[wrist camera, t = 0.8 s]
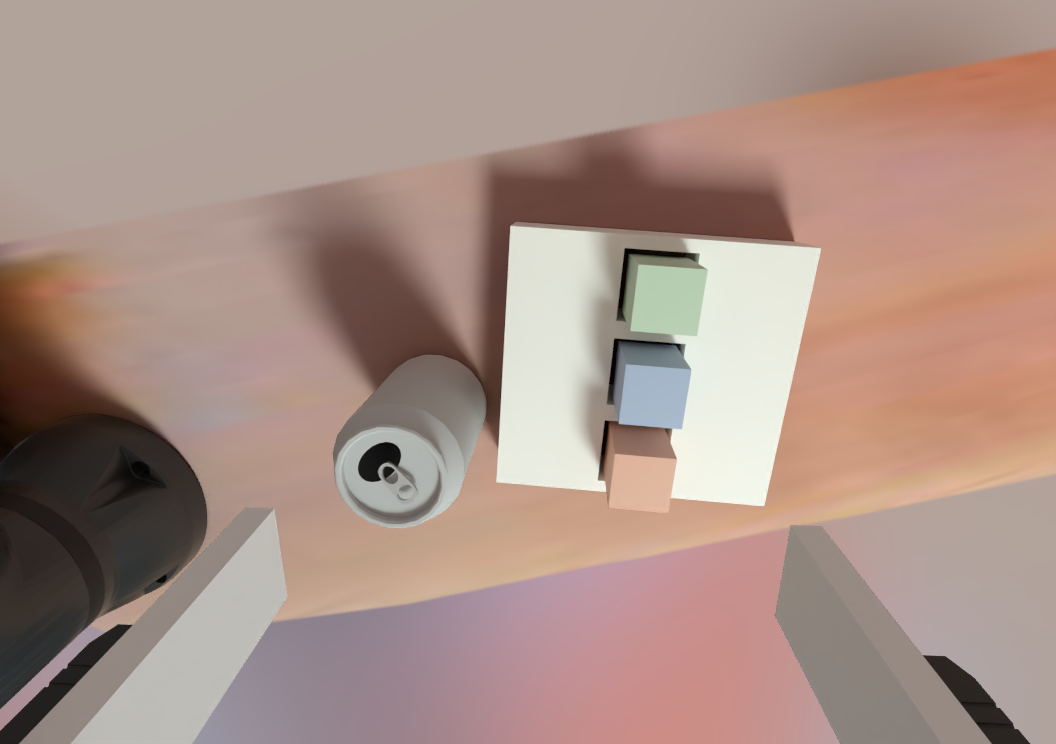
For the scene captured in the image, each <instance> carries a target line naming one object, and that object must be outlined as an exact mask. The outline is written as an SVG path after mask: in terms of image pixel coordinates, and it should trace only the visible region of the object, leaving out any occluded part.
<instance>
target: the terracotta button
mask: <svg viewBox="0 0 1056 744" xmlns="http://www.w3.org/2000/svg"><path fill="white" fill-rule="evenodd" d="M676 463H677V458H676V455H675V453H674V450H673V448H672V445H671V443H670V440H669V438H668V435H667V433H666V430H665V428H660V427H648V426H637V425H625V424H619V423H618V421H609V426H608V434H607V442H606V451H605V459H604V468H603V470H604V478H605V485H606V493H607V501H608V508H618V509H629V510H640V511H650V512H661V513H668V512H669V506H670V500H671V493H672V487H673V481H674V475H675V469H676Z"/></svg>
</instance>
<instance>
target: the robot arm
mask: <svg viewBox="0 0 1056 744" xmlns="http://www.w3.org/2000/svg"><path fill="white" fill-rule="evenodd" d="M206 528H207V510H206V504H205V500H204V496H203V493H202V491H201V488H200V486H199V484H198V482H197V480H196V478H195V476H194V474H193V473H192V471H191V470H190V468H189V467H188V465H187V464H186V463H185V461H184V460H183V459H182V458H181V457H180V456H179V455H178V454H177V452H176V451H175V450H174V449H172V448H171V447H170V446H169V445H168V444H167V443H165V442H164V441H163V440H162V439H160V438H159V437H157V436H156V435H154V434H153V433H151V432H150V431H148V430H146V429H144V428H142V427H140V426H138V425H136V424H134V423H131V422H129V421H126V420H123V419H119V418H116V417H111V416H105V415H94V414H88V415H77V416H72V417H68V418H64V419H62V420H59V421H57V422H55V423H53V424H51V425H48V426H46V427H44V428H42V429H40V430H38V431H36V432H34V433H32V434H30V435H29V436H27V437H26V438H24V439H23V440H21V441H20V442H19V443H18V444H17V445H16V446H15V447H14V448H13V449H12V450H11V451H10V453H9V454H8V455H7V456H6V457H5V459H4V460H3V461H2V462H0V709H1V708H2V707H3V706H4V705H5V704H6V703H7V702H8V701H9V700H10V699H11V698H12V697H14V696H15V694H17V693H18V692H19V691H20V690H21V689H22V688H23V687H24V686H25V685H26V684H27V683H28V682H29V681H31V680H32V679H33V678H34V677H35V676H36V675H37V674H38V673H39V672H40V671H41V670H42V669H43V668H44V667H45V666H46V665H47V664H49V662H50V661H52V660H53V659H54V658H55V657H56V656H57V655H58V654H59V653H60V652H61V651H62V650H63V649H64V648H65V647H66V646H67V645H68V644H70V643H71V642H72V641H73V640H74V639H75V638H76V637H77V636H78V635H79V634H80V633H81V632H82V631H83V630H84V629H85V628H87V627H88V626H89V625H90V624H91V623H92V622H93V621H94V620H96V619H97V618H99V617H101V616H103V615H105V614H107V613H109V612H111V611H113V610H115V609H117V608H119V607H121V606H123V605H125V604H128V603H130V602H132V601H134V600H136V599H138V598H139V597H141V596H143V595H145V594H147V593H150V592H152V591H154V590H156V589H158V588H160V587H161V586H163V585H165V584H166V583H167V582H169V581H170V580H171V579H173V578H174V577H175V576H176V575H177V574H178V573H179V572H180V571H181V570H182V569H183V568H184V567H185V566H186V565H187V564H188V563H189V562H190V561H191V560H192V559H193V558H194V557H195V555H196V554H197V552H198V551H199V549H200V547H201V545H202V543H203V540H204V537H205V534H206ZM286 598H287V592H286V585H285V578H284V571H283V565H282V558H281V551H280V544H279V537H278V531H277V524H276V517H275V510H274V509H267V508H245V509H244V510H243V511H242V512H241V513H240V514H239V515H238V516H237V517H236V518H235V519H234V520H233V521H232V522H231V523H230V524H229V525H228V526H227V527H226V528H225V530H224V531H223V532H222V533H221V534H220V535H219V536H218V537H217V538H216V539H215V540H214V541H213V542H212V543H211V544H210V545H209V546H208V547H207V548H206V549H205V550H204V551H203V552H202V554H201V555H200V556H199V557H198V558H197V559H196V560H195V561H194V562H193V563H192V564H191V565H190V566H189V567H188V568H187V569H186V570H185V571H184V572H183V573H182V574H181V575H180V576H179V577H178V579H177V580H176V581H175V582H174V583H173V584H172V585H171V586H170V587H169V588H168V589H167V590H166V591H165V592H164V593H163V594H162V595H161V596H160V597H159V598H158V599H157V600H156V601H155V603H154V604H153V605H152V606H151V607H150V608H149V609H148V610H147V611H146V612H145V613H144V614H143V615H142V616H141V617H140V618H139V619H138V620H137V621H136V622H135V623H134V624H133V625H120V624H118V625H117V626H115V627H114V628H112V629H110V630H109V631H107V632H106V633H104V634H103V635H101V636H100V637H98V638H97V639H95V640H93V641H92V642H90V643H89V644H88V645H87V646H86V647H85V648H84V649H83V650H82V651H81V652H80V653H79V654H78V655H77V656H76V657H75V658H74V659H73V660H72V661H71V662H70V663H69V664H68V667H67V668H66V669H63V670H62V671H61V672H60V673H59V674H58V675H57V676H56V677H55V678H53V679H52V681H50V684H49V686H48V687H44V688H43V689H42V690H41V691H40V692H39V693H38V694H37V695H36V696H35V697H34V698H33V699H32V700H31V701H30V702H29V703H28V704H27V705H26V706H25V707H24V708H23V709H22V710H21V711H20V712H19V713H18V714H17V715H16V716H15V717H14V718H13V719H12V720H11V721H10V722H9V723H8V724H7V725H6V726H5V727H4V728H3V729H2V730H1V731H0V744H192V743H193V741H194V740H195V738H196V737H197V735H198V734H199V732H200V731H201V729H202V728H203V726H204V725H205V723H206V721H207V720H208V718H209V717H210V715H211V714H212V712H213V711H214V709H215V708H216V706H217V705H218V703H219V701H220V700H221V698H222V697H223V695H224V694H225V692H226V691H227V689H228V688H229V686H230V685H231V683H232V681H233V680H234V678H235V677H236V675H237V674H238V672H239V671H240V669H241V668H242V666H243V665H244V663H245V661H246V660H247V658H248V657H249V655H250V653H251V652H252V651H253V649H254V647H255V646H256V645H257V643H258V641H259V640H260V638H261V637H262V635H263V634H264V632H265V631H266V629H267V628H268V626H269V624H270V623H271V621H272V620H273V618H274V617H275V615H276V614H277V612H278V611H279V609H280V608H281V606H282V604H283V603H284V601H285V600H286ZM775 617H776V619H777V621H778V623H779V625H780V627H781V629H782V631H783V632H784V635H785V637H786V639H787V640H788V642H789V644H790V646H791V648H792V650H793V652H794V654H795V656H796V658H797V660H798V662H799V663H800V666H801V668H802V670H803V672H804V674H805V676H806V678H807V680H808V682H809V684H810V685H811V688H812V689H813V691H814V693H815V695H816V697H817V699H818V701H819V703H820V705H821V707H822V709H823V711H824V713H825V715H826V717H827V719H828V721H829V723H830V725H831V727H832V729H833V731H834V733H835V735H836V736H837V739H838V740H839V742H840V744H1030V743H1029V742H1028V741H1027V739H1026V738H1025V737H1024V736H1023V735H1022V734H1021V732H1020V731H1019V730H1018V729H1014V726H1013V723H1012V722H1011V721H1010V719H1009V718H1008V717H1007V716H1006V715H1005V714H1004V713H1003V711H1002V710H1001V709H1000V708H997V707H996V703H995V702H994V701H993V699H991V697H990V696H989V695H988V694H987V692H985V690H984V689H983V688H982V687H981V685H980V684H979V683H978V682H977V681H976V679H975V678H973V677H972V676H971V675H970V674H968V673H967V672H966V671H964V670H963V669H961V668H960V667H959V666H958V665H956V664H955V663H954V662H952V661H951V660H950V659H948V658H947V657H945V656H925V655H922V654H921V653H920V651H919V650H918V649H917V647H916V646H915V645H914V644H913V643H912V641H911V640H910V639H909V637H908V636H907V635H906V633H905V632H904V631H903V630H902V628H901V627H900V626H899V624H898V623H897V622H896V621H895V619H894V618H893V617H892V615H891V614H890V613H889V612H888V610H887V609H886V608H885V606H884V605H883V604H882V603H881V601H880V600H879V599H878V598H877V596H876V595H875V594H874V592H873V591H872V590H871V589H870V587H869V586H868V585H867V583H866V582H865V581H864V580H863V578H862V577H861V576H860V574H859V573H858V572H857V571H856V569H855V568H854V567H853V565H852V564H851V563H850V562H849V560H848V559H847V558H846V557H845V555H844V554H843V553H842V551H841V550H840V549H839V548H838V546H837V545H836V544H835V543H834V541H833V540H832V539H831V537H830V536H829V535H828V533H827V532H826V531H825V530H824V529H823V527H822V526H799V525H790V532H789V538H788V543H787V549H786V555H785V561H784V566H783V572H782V578H781V583H780V589H779V595H778V601H777V606H776V612H775Z"/></svg>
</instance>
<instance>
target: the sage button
mask: <svg viewBox="0 0 1056 744" xmlns="http://www.w3.org/2000/svg"><path fill="white" fill-rule="evenodd" d="M707 272H708V269H706V268H704V267H703V266H701V265H700V264H698V263H696V262H695V261H693V260H691V259H690V258H683V257H669V256H656V255H642V254H629V257H628V265H627V274H626V282H625V291H624V299H623V308H622V313H623V315H624V317H625V320H626V322H627V324H628V327H629V329H630V331H636V332H649V333H661V334H674V335H687V336H697V334H698V327H699V321H700V315H701V309H702V303H703V297H704V291H705V284H706V278H707Z"/></svg>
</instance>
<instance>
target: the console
mask: <svg viewBox="0 0 1056 744" xmlns="http://www.w3.org/2000/svg"><path fill="white" fill-rule="evenodd" d="M625 248H630V249H644V250H658V251H671V252H685V253H686V254H685V258H690V259H691V260H693V261H695V262H696V263H698V264H700V265H701V266H703V267H704V268H706V269H708V272H707V278H706V284H705V291H704V297H703V303H702V309H701V315H700V321H699V327H698V334H697V336H687V335H674V334H661V333H649V332H636V331H630V329H629V327H628V324H627V322H626V320H625V317H624V315H623V313H622V308H618V301H619V292H620V284H621V275H622V267H623V258H624V249H625ZM820 252H821V248H818V247H815V246H811V245H807V244H803V243H799V242H793V241H779V240H765V239H751V238H737V237H723V236H709V235H695V234H681V233H667V232H653V231H639V230H625V229H611V228H597V227H583V226H569V225H555V224H541V223H527V222H515V223H514V224H512V225H511V226H510V243H509V262H508V280H507V299H506V317H505V336H504V355H503V373H502V392H501V410H500V429H499V448H498V466H497V482H502V483H513V484H524V485H535V486H546V487H557V488H568V489H579V490H590V491H602V492H606V485H605V478H604V470H603V468H604V459H605V455H601V448H602V439H603V430H604V422H605V420H607V421H618V418H617V413H616V409H615V404H614V400H613V395H612V392H613V385H609V379H610V370H611V361H612V353H613V344H614V338H616V339H628V340H641V341H654V342H666V343H672V345H675V346H676V347H677V349H678V350H679V352H680V353H681V354H682V356H683V357H684V359H685V360H686V362H687V363H688V365H689V366H690V368H691V369H692V370H691V377H690V383H689V389H688V395H687V401H686V407H685V413H684V420H683V426H682V429H672V428H665V430H666V433H667V435H668V438H669V440H670V443H671V445H672V448H673V450H674V453H675V455H676V458H677V463H676V469H675V475H674V481H673V487H672V493H671V498H679V499H690V500H701V501H712V502H723V503H735V504H746V505H757V506H764V504H765V500H766V495H767V491H768V486H769V482H770V477H771V473H772V468H773V464H774V459H775V455H776V450H777V446H778V441H779V437H780V432H781V427H782V423H783V418H784V414H785V409H786V405H787V400H788V396H789V391H790V387H791V382H792V378H793V373H794V369H795V364H796V360H797V355H798V351H799V346H800V342H801V337H802V333H803V328H804V324H805V319H806V315H807V310H808V306H809V301H810V297H811V292H812V288H813V283H814V279H815V274H816V270H817V265H818V261H819V256H820Z"/></svg>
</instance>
